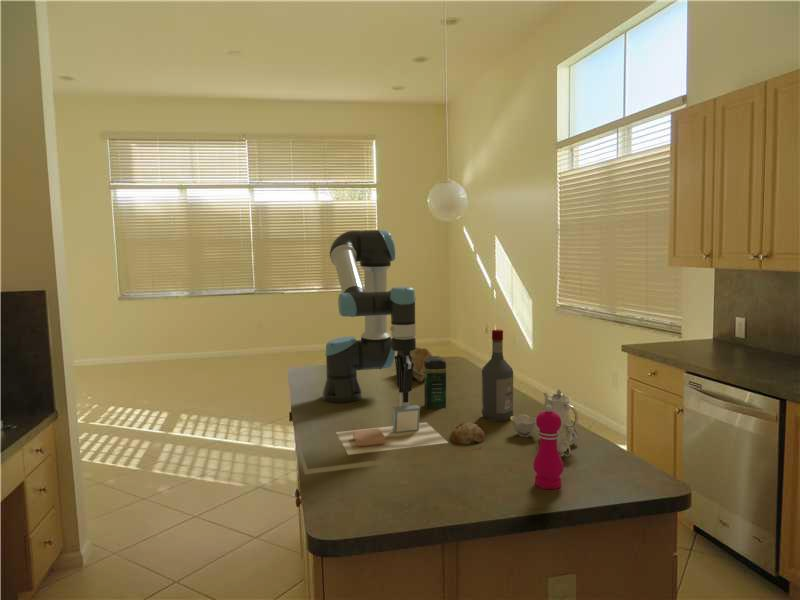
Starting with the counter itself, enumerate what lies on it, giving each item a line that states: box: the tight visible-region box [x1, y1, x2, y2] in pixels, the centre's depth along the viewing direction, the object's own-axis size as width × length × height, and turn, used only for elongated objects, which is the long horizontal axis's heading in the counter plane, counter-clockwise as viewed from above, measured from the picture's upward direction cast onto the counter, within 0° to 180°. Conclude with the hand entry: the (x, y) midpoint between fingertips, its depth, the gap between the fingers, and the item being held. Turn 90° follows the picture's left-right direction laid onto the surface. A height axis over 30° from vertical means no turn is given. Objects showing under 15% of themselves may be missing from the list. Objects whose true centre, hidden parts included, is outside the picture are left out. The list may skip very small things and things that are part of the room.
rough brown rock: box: [410, 346, 434, 383], centre depth 253 cm, size 23×17×15 cm
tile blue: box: [392, 404, 421, 433], centre depth 178 cm, size 2×8×8 cm, turn 106°
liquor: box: [481, 329, 514, 422], centre depth 194 cm, size 9×9×30 cm
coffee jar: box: [423, 355, 447, 410], centre depth 207 cm, size 10×8×19 cm
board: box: [335, 422, 449, 456], centre depth 174 cm, size 20×30×1 cm, turn 106°
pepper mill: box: [532, 405, 564, 490], centre depth 141 cm, size 7×7×20 cm
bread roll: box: [450, 421, 486, 445], centre depth 171 cm, size 10×10×8 cm
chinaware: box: [510, 388, 579, 458], centre depth 169 cm, size 28×17×17 cm, turn 23°
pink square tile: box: [352, 427, 385, 446], centre depth 171 cm, size 2×8×8 cm
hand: (404, 411), depth 179 cm, fingers closed
